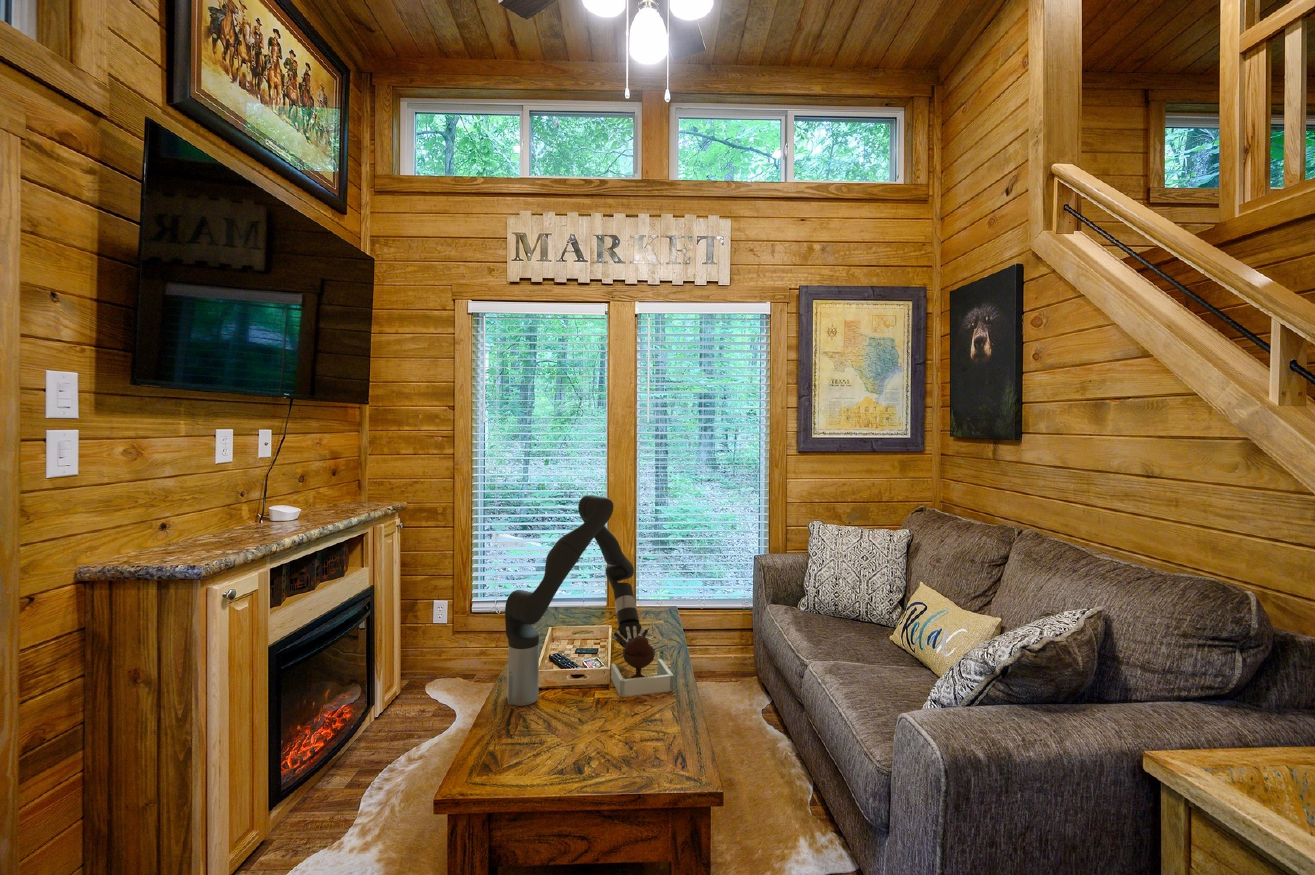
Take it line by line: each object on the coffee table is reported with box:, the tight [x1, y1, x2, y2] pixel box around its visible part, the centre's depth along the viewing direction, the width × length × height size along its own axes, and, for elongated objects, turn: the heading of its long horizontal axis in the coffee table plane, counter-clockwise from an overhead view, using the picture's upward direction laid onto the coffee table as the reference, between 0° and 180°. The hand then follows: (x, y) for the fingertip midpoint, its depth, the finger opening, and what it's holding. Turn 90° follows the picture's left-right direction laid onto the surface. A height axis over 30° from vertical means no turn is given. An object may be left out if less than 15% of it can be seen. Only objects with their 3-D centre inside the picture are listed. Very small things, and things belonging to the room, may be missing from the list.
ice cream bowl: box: [622, 634, 656, 679], centre depth 196 cm, size 11×11×15 cm
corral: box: [610, 658, 675, 698], centre depth 192 cm, size 17×14×5 cm
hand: (634, 658), depth 201 cm, fingers closed
